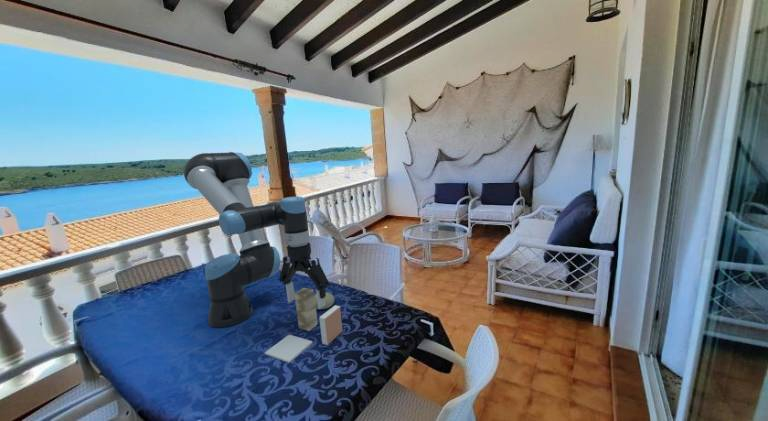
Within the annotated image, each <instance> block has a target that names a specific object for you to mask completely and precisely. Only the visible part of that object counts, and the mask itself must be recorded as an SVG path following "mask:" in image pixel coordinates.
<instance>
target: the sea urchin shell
mask: <svg viewBox="0 0 768 421" xmlns="http://www.w3.org/2000/svg"><path fill="white" fill-rule="evenodd" d="M325 293H326V297H325V306H324V307H322V308H321V309H319V308H318V301H317V293H314V296H315V305H316V311H319V310H325V309H327V310H328V309H330V307H333V306H334V303H335V296H334V295H333V294H332V293H330V292H326V291H325Z"/></svg>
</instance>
